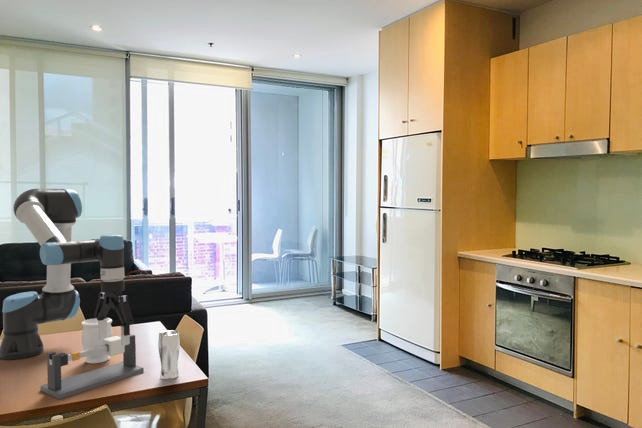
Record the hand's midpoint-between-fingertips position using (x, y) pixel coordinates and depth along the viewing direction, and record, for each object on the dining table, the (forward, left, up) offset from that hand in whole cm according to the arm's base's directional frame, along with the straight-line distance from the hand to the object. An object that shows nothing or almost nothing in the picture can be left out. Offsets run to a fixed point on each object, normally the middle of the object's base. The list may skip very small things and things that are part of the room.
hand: (113, 341), depth 169 cm
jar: (-19, +5, -12) cm, 23 cm away
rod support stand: (0, -7, -12) cm, 13 cm away
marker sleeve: (0, 0, -4) cm, 4 cm away
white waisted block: (+17, +10, -12) cm, 23 cm away
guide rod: (0, -7, -3) cm, 8 cm away
